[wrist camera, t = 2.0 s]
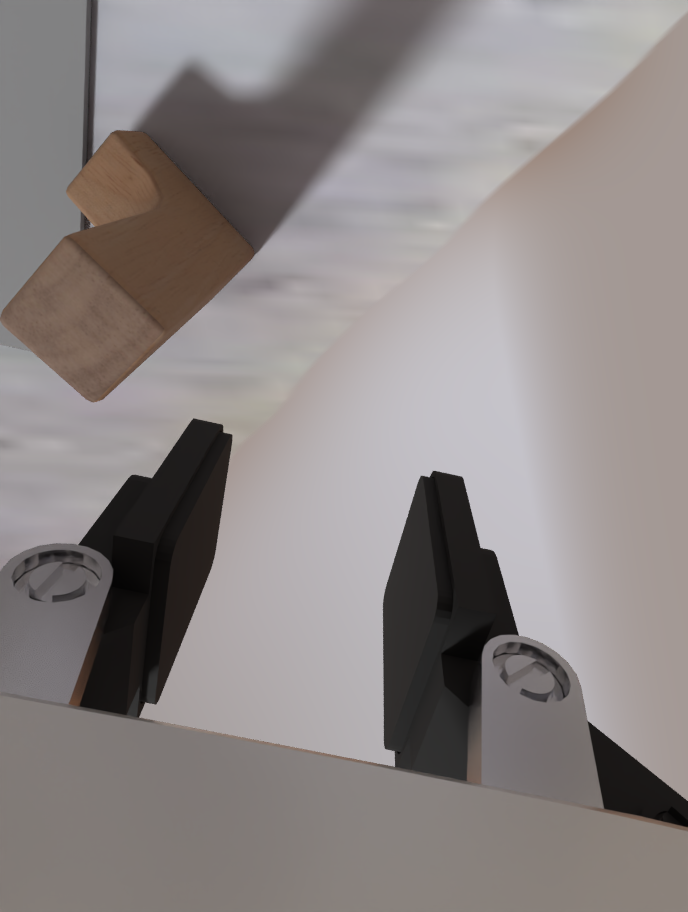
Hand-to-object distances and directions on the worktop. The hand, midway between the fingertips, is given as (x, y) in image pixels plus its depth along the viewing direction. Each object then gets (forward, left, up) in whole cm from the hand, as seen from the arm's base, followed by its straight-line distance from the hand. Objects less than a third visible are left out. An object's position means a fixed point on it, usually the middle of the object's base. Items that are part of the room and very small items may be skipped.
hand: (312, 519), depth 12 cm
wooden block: (0, -11, -29) cm, 31 cm away
